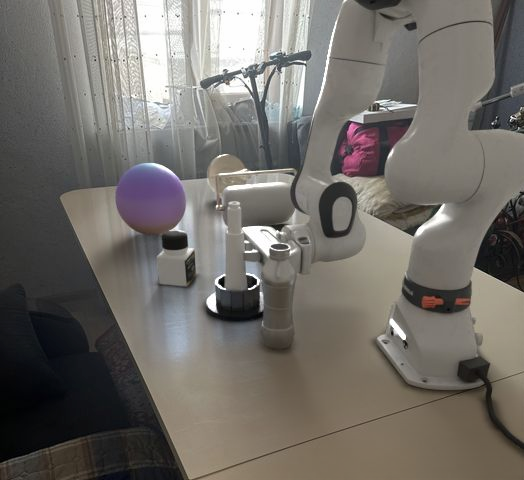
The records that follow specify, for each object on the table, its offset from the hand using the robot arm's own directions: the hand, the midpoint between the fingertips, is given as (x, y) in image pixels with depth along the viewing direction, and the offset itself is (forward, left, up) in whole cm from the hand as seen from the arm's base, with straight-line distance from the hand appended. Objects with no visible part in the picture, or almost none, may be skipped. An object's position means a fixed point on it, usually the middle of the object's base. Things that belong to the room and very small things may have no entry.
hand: (232, 253), depth 107 cm
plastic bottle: (-16, -9, -13) cm, 22 cm away
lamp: (+69, -1, -13) cm, 70 cm away
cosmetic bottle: (-1, -1, -12) cm, 12 cm away
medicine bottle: (+14, +14, -13) cm, 24 cm away
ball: (+47, +25, -13) cm, 55 cm away
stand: (0, -1, -13) cm, 13 cm away
